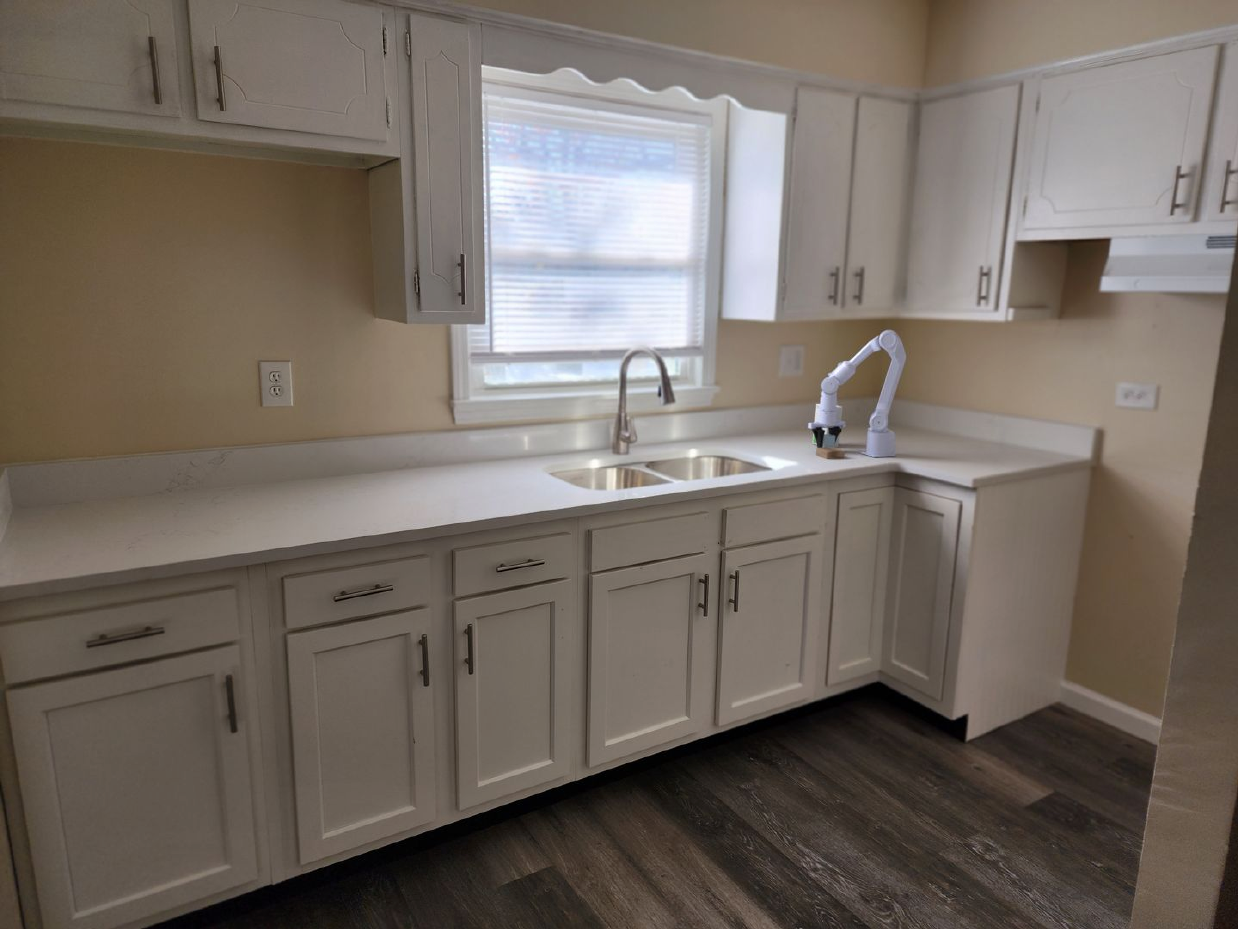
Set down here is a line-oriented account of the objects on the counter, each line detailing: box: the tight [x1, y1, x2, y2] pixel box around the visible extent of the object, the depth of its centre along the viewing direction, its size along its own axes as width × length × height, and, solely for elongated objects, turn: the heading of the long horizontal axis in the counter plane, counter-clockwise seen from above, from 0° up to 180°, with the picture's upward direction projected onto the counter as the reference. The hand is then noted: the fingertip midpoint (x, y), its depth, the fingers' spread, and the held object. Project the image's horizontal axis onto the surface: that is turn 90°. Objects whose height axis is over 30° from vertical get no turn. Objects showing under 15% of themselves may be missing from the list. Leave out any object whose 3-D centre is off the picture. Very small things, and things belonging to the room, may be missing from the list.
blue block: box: [822, 434, 835, 448], centre depth 296 cm, size 4×4×6 cm
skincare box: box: [812, 403, 844, 448], centre depth 306 cm, size 8×7×16 cm
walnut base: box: [815, 447, 846, 460], centre depth 287 cm, size 7×7×3 cm
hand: (825, 447), depth 296 cm, fingers closed on blue block, 4 cm apart
